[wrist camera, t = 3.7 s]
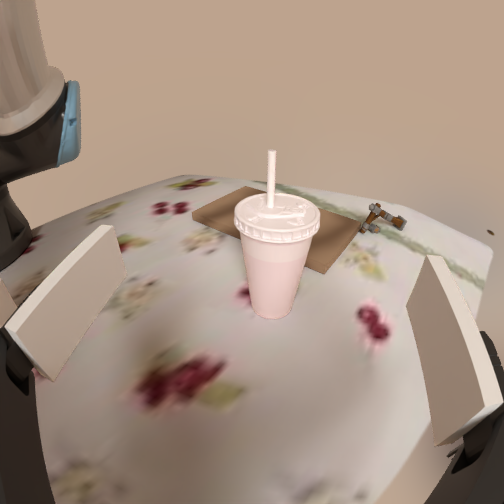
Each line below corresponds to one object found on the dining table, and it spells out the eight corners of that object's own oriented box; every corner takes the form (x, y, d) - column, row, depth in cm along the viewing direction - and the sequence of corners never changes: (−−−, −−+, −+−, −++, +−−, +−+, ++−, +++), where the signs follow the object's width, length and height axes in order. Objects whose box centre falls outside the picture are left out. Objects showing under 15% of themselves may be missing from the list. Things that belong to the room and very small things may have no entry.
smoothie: (249, 276, 30) (249, 138, 22) (311, 289, 28) (330, 147, 20) (226, 320, 25) (216, 159, 17) (298, 337, 23) (324, 171, 15)
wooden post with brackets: (352, 226, 37) (368, 197, 35) (385, 239, 41) (400, 214, 39) (360, 233, 35) (377, 203, 34) (393, 245, 39) (408, 220, 37)
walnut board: (192, 219, 40) (191, 212, 39) (245, 192, 48) (245, 186, 47) (324, 274, 30) (325, 265, 29) (359, 229, 38) (361, 222, 37)
